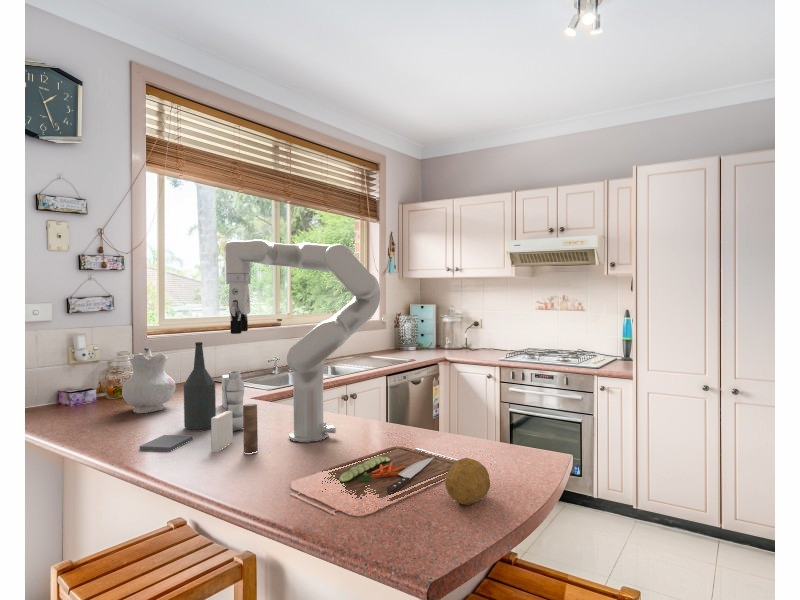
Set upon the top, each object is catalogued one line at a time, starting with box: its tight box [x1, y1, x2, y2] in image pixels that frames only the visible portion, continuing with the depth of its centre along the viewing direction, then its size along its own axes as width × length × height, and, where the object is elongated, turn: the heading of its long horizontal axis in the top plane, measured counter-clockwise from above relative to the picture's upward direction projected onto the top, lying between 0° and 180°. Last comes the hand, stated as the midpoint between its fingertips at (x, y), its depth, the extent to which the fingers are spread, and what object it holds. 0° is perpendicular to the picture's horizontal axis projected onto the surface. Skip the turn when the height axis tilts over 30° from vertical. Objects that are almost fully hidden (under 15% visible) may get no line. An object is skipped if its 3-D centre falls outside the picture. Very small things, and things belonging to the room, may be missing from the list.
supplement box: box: [221, 374, 243, 409], centre depth 209 cm, size 7×7×13 cm
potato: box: [444, 457, 491, 506], centre depth 113 cm, size 10×13×9 cm
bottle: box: [183, 341, 217, 432], centre depth 176 cm, size 10×10×30 cm
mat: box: [139, 434, 194, 452], centre depth 156 cm, size 10×12×1 cm
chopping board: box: [320, 445, 460, 501], centre depth 128 cm, size 45×27×3 cm, turn 137°
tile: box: [210, 411, 234, 452], centre depth 153 cm, size 2×9×10 cm, turn 172°
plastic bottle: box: [225, 370, 245, 432], centre depth 172 cm, size 6×7×20 cm
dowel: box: [242, 403, 259, 453], centre depth 148 cm, size 4×4×14 cm
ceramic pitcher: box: [121, 346, 176, 414], centre depth 204 cm, size 22×20×25 cm
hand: (239, 332), depth 163 cm, fingers open, 9 cm apart
